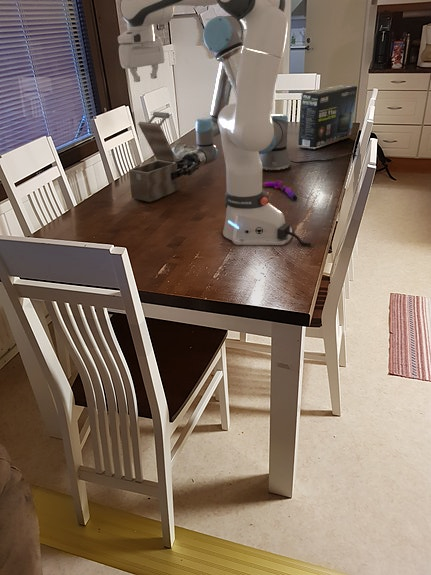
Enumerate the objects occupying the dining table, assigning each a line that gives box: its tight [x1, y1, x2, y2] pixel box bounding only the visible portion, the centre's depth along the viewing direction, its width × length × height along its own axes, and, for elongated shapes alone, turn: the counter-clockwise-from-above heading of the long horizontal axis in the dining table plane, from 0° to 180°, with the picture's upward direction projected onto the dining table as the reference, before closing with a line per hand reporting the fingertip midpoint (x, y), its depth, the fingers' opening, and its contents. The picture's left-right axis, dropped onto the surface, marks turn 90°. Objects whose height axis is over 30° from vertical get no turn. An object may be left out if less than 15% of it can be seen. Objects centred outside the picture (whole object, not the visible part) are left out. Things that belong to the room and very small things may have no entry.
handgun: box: [262, 180, 298, 201], centre depth 180 cm, size 21×8×2 cm, turn 11°
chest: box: [128, 159, 179, 203], centre depth 181 cm, size 17×10×11 cm, turn 146°
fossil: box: [171, 142, 197, 160], centre depth 229 cm, size 18×11×15 cm
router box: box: [297, 84, 358, 151], centre depth 238 cm, size 36×11×27 cm, turn 134°
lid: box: [137, 111, 177, 162], centre depth 179 cm, size 18×10×9 cm
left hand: (145, 80), depth 164 cm, fingers open, 8 cm apart
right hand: (161, 174), depth 184 cm, fingers closed on chest, 10 cm apart
